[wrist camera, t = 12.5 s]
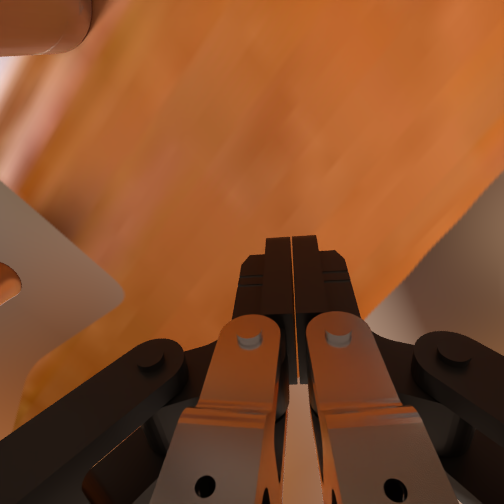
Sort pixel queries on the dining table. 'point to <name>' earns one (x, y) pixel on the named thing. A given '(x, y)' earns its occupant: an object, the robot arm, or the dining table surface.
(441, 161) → the dining table surface
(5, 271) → the beer glass
